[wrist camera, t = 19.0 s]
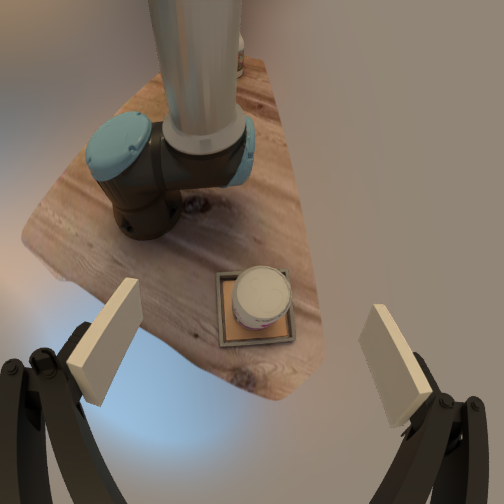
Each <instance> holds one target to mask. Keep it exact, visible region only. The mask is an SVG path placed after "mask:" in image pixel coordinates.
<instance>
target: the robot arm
mask: <svg viewBox="0 0 504 504" xmlns="http://www.w3.org/2000/svg"><path fill="white" fill-rule="evenodd" d="M148 6H149V12H150V18H151V23H152V30H153V35H154V41H155V46H156V51H157V56H158V61H159V66H160V71H161V76H162V81H163V85H164V90H165V95H166V99H167V104H168V108H169V112H168V113H167V114H166V116H165V118H164V121H162V122H154V123H151V121H150V119H149V118H148V117H147V116H146V115H145V114H141V113H140V112H136V111H133V112H126V113H122V114H119V115H117V116H115V117H113V118H111V119H110V120H108V121H107V122H105V123H104V124H103V125H102V126H101V127H100V128H99V129H98V130H97V131H96V132H95V133H94V134H93V136H92V137H91V139H90V141H89V143H88V145H87V148H86V155H85V156H86V162H87V165H88V167H89V169H90V171H91V174H92V176H93V178H94V179H95V180H96V181H97V183H98V184H99V185H100V187H101V188H102V190H103V191H104V192H105V194H106V195H107V197H108V198H109V199H110V201H111V202H112V204H113V212H114V218H115V221H116V223H117V225H118V226H119V227H120V229H121V230H122V231H123V232H124V233H125V234H126V235H127V236H129V237H131V238H133V239H137V240H151V239H155V238H157V237H160V236H162V235H164V234H165V233H167V232H168V231H169V230H170V229H171V228H172V227H173V226H174V225H175V224H176V222H177V221H178V219H179V217H180V215H181V212H182V207H183V201H182V196H181V193H180V190H184V189H197V188H213V187H220V188H227V187H229V186H238V185H242V184H243V183H245V182H246V181H247V179H248V178H249V176H250V173H251V170H252V166H253V160H254V158H253V154H254V151H255V130H254V124H253V121H252V119H251V118H250V117H248V116H245V114H244V112H243V110H242V109H241V107H240V106H239V105H238V104H237V103H236V85H237V67H238V50H239V35H240V19H241V6H242V0H148ZM142 320H143V314H142V306H141V298H140V289H139V280H138V279H133V278H127V277H126V278H125V279H124V281H123V282H122V283H121V285H120V286H119V287H118V289H117V290H116V291H115V293H114V294H113V295H112V297H111V298H110V299H109V301H108V302H107V303H106V305H105V306H104V307H103V309H102V310H101V312H100V313H99V314H98V316H97V317H96V319H95V320H94V321H93V323H89V322H83V323H82V324H81V325H79V326H78V327H77V328H76V329H75V330H74V332H73V333H72V336H70V337H69V339H68V341H67V342H66V343H65V344H64V346H63V347H62V349H61V350H60V352H59V353H58V355H57V356H56V355H55V352H54V351H53V350H52V349H50V348H39V349H37V350H36V351H34V352H33V353H32V354H31V356H30V358H29V363H30V364H31V367H32V368H26V367H24V365H23V363H22V362H21V361H20V360H19V359H10V360H8V361H6V362H5V363H4V364H3V366H2V369H1V374H0V504H53V502H52V497H51V491H50V484H49V476H48V467H47V455H46V436H45V422H46V426H47V430H48V434H49V438H50V441H51V445H52V448H53V451H54V454H55V457H56V460H57V463H58V466H59V469H60V471H61V474H62V477H63V479H64V482H65V484H66V487H67V489H68V491H69V493H70V496H71V498H72V500H73V503H74V504H127V502H126V501H125V499H124V497H123V496H122V494H121V492H120V491H119V489H118V487H117V485H116V483H115V482H114V480H113V478H112V476H111V474H110V472H109V470H108V468H107V466H106V464H105V462H104V460H103V458H102V456H101V453H100V451H99V449H98V447H97V444H96V442H95V439H94V437H93V435H92V432H91V430H90V427H89V424H88V422H87V419H86V416H85V414H84V411H83V408H82V405H81V403H80V399H81V397H82V395H83V397H84V399H85V400H86V402H88V403H91V404H94V405H96V406H100V407H101V405H102V403H103V400H104V398H105V396H106V394H107V391H108V389H109V387H110V385H111V383H112V380H113V378H114V376H115V374H116V372H117V370H118V368H119V366H120V364H121V362H122V359H123V358H124V355H125V353H126V351H127V349H128V347H129V345H130V343H131V341H132V339H133V337H134V336H135V334H136V331H137V329H138V328H139V326H140V324H141V322H142ZM358 340H359V343H360V346H361V348H362V351H363V353H364V356H365V358H366V361H367V364H368V366H369V368H370V371H371V374H372V377H373V379H374V382H375V385H376V388H377V390H378V393H379V395H380V399H381V402H382V404H383V407H384V410H385V413H386V416H387V419H388V422H389V425H390V428H395V427H400V426H403V425H404V424H405V423H406V422H407V421H408V420H409V419H410V421H411V425H410V426H409V427H408V428H407V429H406V430H405V431H404V432H403V433H402V435H401V437H402V436H403V435H404V434H405V437H404V439H403V441H402V443H401V445H400V448H399V450H398V452H397V454H396V456H395V458H394V460H393V462H392V464H391V466H390V468H389V470H388V472H387V474H386V475H385V477H384V479H383V481H382V483H381V484H380V486H379V488H378V490H377V491H376V493H375V495H374V496H373V498H372V499H371V501H370V503H369V504H425V503H426V501H427V499H428V496H429V494H430V492H431V489H432V487H433V490H432V496H431V501H430V504H487V498H488V483H489V449H488V433H487V422H486V413H485V407H484V403H483V402H482V400H481V399H479V398H478V397H476V396H471V397H469V398H468V399H467V401H466V402H465V403H463V402H455V401H454V399H453V398H452V397H451V396H450V395H448V394H446V393H441V391H440V389H439V387H438V385H437V383H436V382H435V380H434V378H433V376H432V374H431V373H430V370H429V369H428V367H427V365H426V363H425V361H424V359H423V358H422V357H421V356H420V355H419V354H418V353H416V352H412V351H411V349H410V347H409V346H408V344H407V342H406V340H405V339H404V337H403V335H402V333H401V332H400V330H399V328H398V327H397V325H396V323H395V321H394V320H393V318H392V316H391V315H390V314H389V312H388V310H387V309H386V307H385V305H381V304H373V306H372V309H371V311H370V314H369V316H368V318H367V321H366V323H365V326H364V328H363V330H362V333H361V335H360V337H359V339H358ZM461 435H462V437H463V438H462V440H461Z"/></svg>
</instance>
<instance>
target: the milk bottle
mask: <svg viewBox="0 0 504 504" xmlns="http://www.w3.org/2000/svg"><path fill="white" fill-rule="evenodd" d="M243 60H244V41H243V39H242V37H241V35H239V50H238V67H237V78H239V77H240V76H241V75H242V73H243Z"/></svg>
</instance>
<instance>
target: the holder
mask: <svg viewBox="0 0 504 504" xmlns="http://www.w3.org/2000/svg"><path fill="white" fill-rule="evenodd" d="M277 270H278V271H280V272H281V273H282V274H283V275H285V277H286V279H287V280H288V282H289V283H290V277H289V269H288V268H286V269H277ZM242 272H244V271H235V272H216V284H217V304H218V321H219V337H220V347H223V346H240V345H254V344H266V343H277V342H286V341H295V340H296V332H295V322H294V313H293V303H292V300H291V305H290V307H289V309H288V311H287V315H288V325H289V335H290V338H281V339H271V340H259V341H246V342H231V343H224V338H223V323H222V306H221V288H220V279H230V278H238V276H239V275H240V274H241V273H242ZM234 283H235V281H223V294H224V311H225V327H226V340H240V339H254V338H267V337H277V336H287V330H286V320H285V315H284V316H282V317H281V318H280V319H279V320H278V321H276V322H275V323H273V324H271V325H270V326H268V327H267V328H264V329H262V330H248V329H246V328H243V327H242V326H241V325H240V324H238V323H237V321H236V320H235V318H234V316H233V311H232V291H233V285H234Z"/></svg>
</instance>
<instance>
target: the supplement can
mask: <svg viewBox="0 0 504 504" xmlns="http://www.w3.org/2000/svg"><path fill="white" fill-rule="evenodd" d="M291 300H292V291H291V286H290V283H289V282H288V280H287V279H286V277H285V275H283V274H282V273H281V272H280V271H278V270H277V269H275V268H272V267H269V266H254V267H251V268H248V269H246V270H245V271H244V272H242V273H241V274H240V275H239V276H238V278H237V279H236V281H235V283H234V285H233V291H232V311H233V316H234V318H235V320H236V321H237V323H238V324H240V325H241V326H242V327H243V328H246V329H248V330H262V329H264V328H267V327H268V326H270V325H271V324H273V323H275V322H276V321H278V320H279V319H280V318H281V317H282V316H284V315H285V314H286V312H287V311H288V309H289V307H290V305H291Z"/></svg>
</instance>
